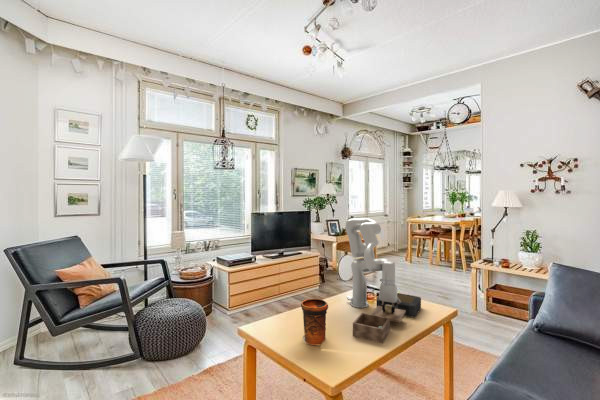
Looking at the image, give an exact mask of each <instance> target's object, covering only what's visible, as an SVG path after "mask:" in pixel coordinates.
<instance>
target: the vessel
mask: <svg viewBox="0 0 600 400" xmlns="http://www.w3.org/2000/svg"><path fill="white" fill-rule="evenodd" d="M300 307H301V309H302V315H303V316H302V317H303V318H302V319H303V332H304V335H303V337H302V340H303V342H305V343H304V344H306V345H312V346H318V347H319V346H320V347H321V345H322V344H323V342H324V341H325V340H326V330H327V327H326V326H327V323H326V322H327V321H326V320H327V319H326V318H327V317H326V316H327V313H328V312H327V311H328V309H329V304H328V302H326V301H325V300H323V299H320V298H309V299H305V300H303V301H301V303H300Z"/></svg>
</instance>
